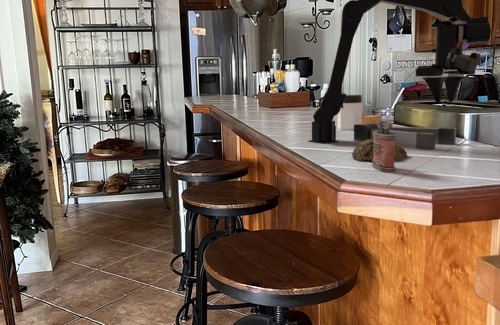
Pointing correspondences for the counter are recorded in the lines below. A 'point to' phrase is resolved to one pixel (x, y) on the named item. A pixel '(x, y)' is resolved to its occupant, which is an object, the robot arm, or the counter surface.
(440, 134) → the tong arm
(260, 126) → the counter surface
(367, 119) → the lock tab
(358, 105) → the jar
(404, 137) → the tongs base
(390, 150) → the lighter
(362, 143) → the bread roll
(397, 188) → the counter surface
